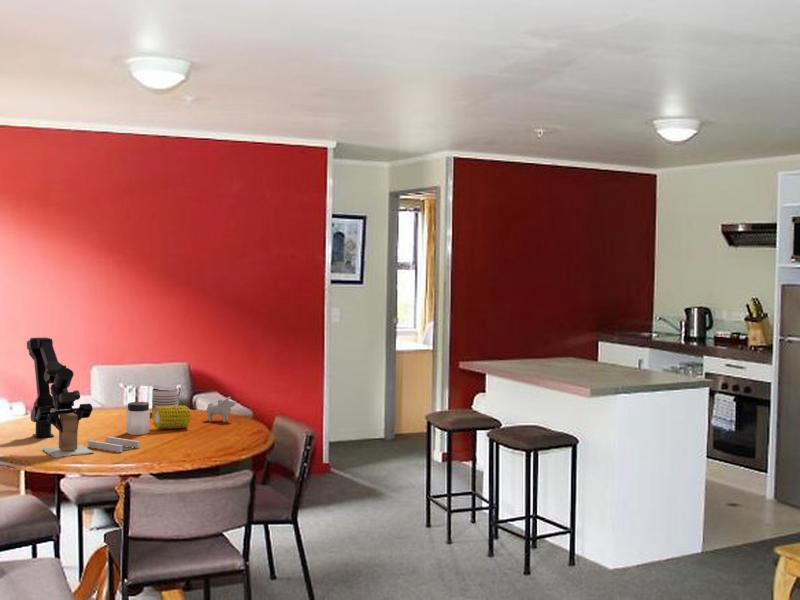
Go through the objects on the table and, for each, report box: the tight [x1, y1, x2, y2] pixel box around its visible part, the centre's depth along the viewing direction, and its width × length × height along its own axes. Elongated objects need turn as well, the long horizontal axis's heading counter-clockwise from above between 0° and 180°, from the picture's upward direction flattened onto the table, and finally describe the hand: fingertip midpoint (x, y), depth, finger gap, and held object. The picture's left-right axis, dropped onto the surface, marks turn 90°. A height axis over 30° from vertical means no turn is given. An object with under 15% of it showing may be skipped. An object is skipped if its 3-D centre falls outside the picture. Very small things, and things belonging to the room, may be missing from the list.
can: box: [151, 385, 179, 412], centre depth 407 cm, size 11×11×12 cm
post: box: [58, 413, 79, 451], centre depth 322 cm, size 5×5×12 cm
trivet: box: [42, 444, 95, 458], centre depth 322 cm, size 14×14×1 cm
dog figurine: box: [206, 396, 237, 423], centre depth 392 cm, size 5×13×11 cm, turn 86°
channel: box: [87, 436, 141, 453], centre depth 331 cm, size 16×10×2 cm, turn 64°
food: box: [151, 405, 192, 430], centre depth 371 cm, size 15×12×10 cm
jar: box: [126, 401, 151, 436], centre depth 360 cm, size 9×8×12 cm
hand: (69, 431), depth 321 cm, fingers closed on post, 5 cm apart
